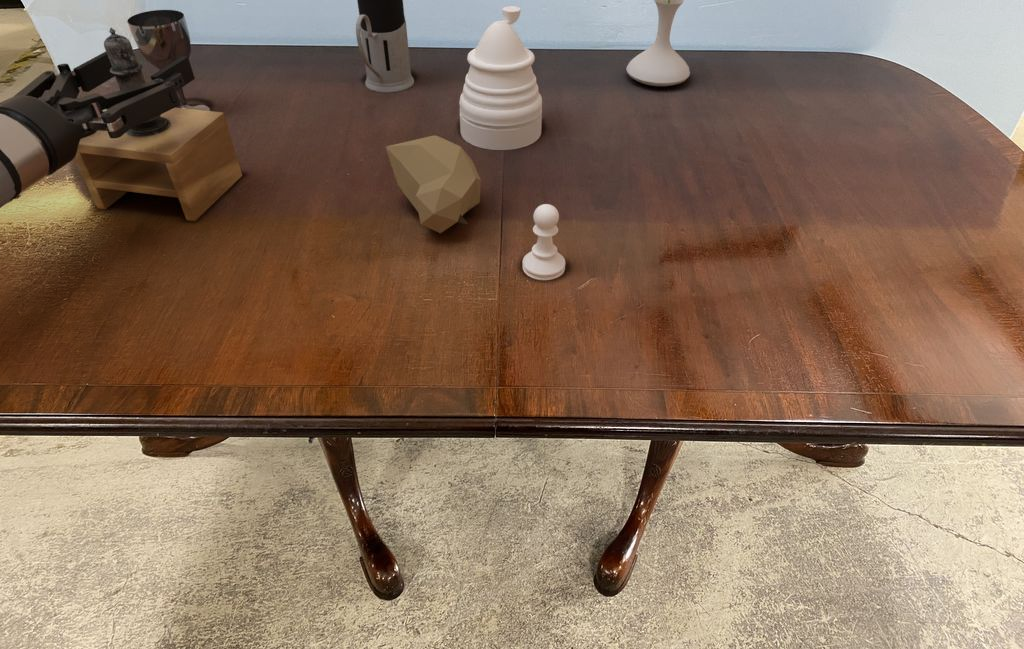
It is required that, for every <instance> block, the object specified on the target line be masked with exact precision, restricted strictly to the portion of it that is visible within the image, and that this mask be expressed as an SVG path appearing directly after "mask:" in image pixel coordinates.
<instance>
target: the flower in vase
mask: <svg viewBox="0 0 1024 649" xmlns="http://www.w3.org/2000/svg"><path fill="white" fill-rule="evenodd" d="M653 1H654V3H655V5H656V8H657V13H658V24H657V32H656V37H655V40H654V42H653V43H652V44H651V46H649V47H648V48H647V49H645V50H643V51H642V52H640V53H638V55H636V56H634V57H633V58H632V59H631V60H630V61H629V62H628V63H627V66H626V68H625V70H626V73H627V74H628V76H629V77H630V78H631V79H632V80H634V81H636V82H638V83H640V84H644V85H647V86H652V87H669V86H674V85H675V86H676V85H679V84H682V83H684V82H685V81H686V80H688V78H689V77H690V75H691V72H690V71H691V70H690V67H689V64H688V63H687V62H686V61H685V60H684V58H683V57H682V56H681V55H680V54H679V53H678V52H677V51H676V50H675V49H674V48H673V47H672V45H671V38H670V37H671V31H672V26H673V22H674V18H675V16H676V14H677V11H678V9H679V8H680V7H681V6H682V4H683V3H684V2H685V0H653Z"/></svg>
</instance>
